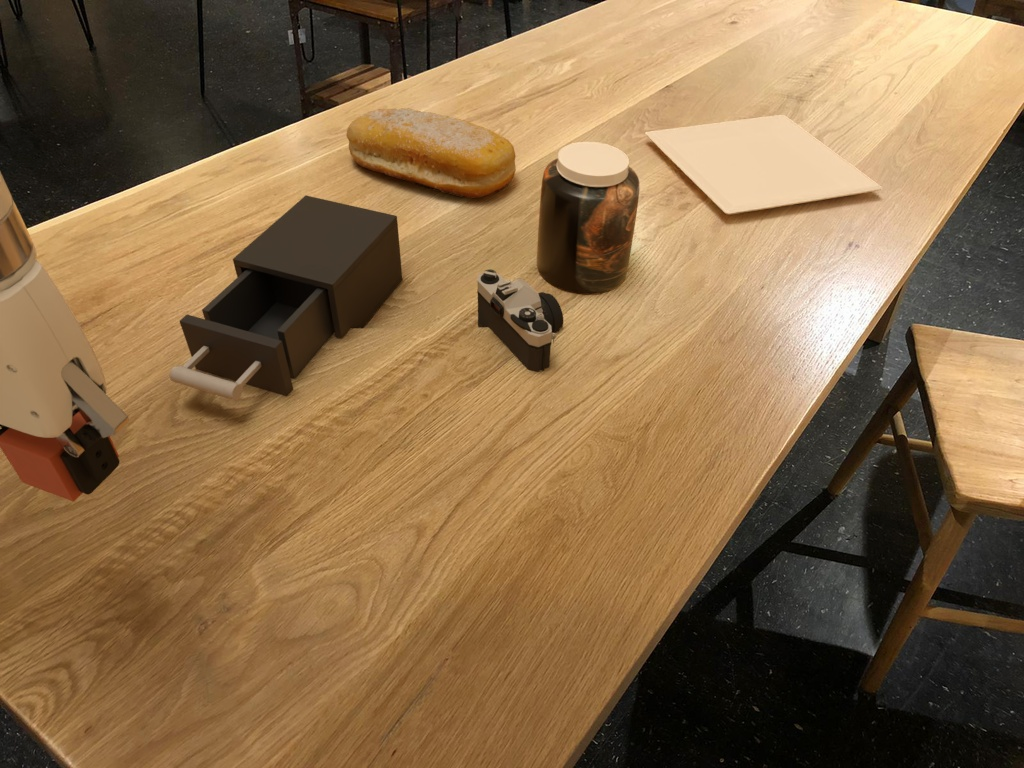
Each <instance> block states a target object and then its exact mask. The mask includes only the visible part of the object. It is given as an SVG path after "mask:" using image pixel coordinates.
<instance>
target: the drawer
mask: <svg viewBox="0 0 1024 768" xmlns="http://www.w3.org/2000/svg"><path fill="white" fill-rule="evenodd" d="M201 312H202V315H203V318H202V317H198V316H194V315H190V314H185V316H183V317H182V318H181V319H179V324H180V327H181V330H182V333H183V336H184V339H185V342H186V345H187V347H188V350H189V353H190V356H191V357H190V358H189V359H188V360H187V361H186V362H185V363H184V364H183V365H181V366H180V365H174V366H173V367H172V368H171V369H170V371H169V379H170V381H171V382H173V383H176V384H180V385H182V386H187V387H189V388H193V389H195V390H199V391H202V392H206V393H209V394H213V395H216V396H219V397H222V398H224V399H229V400H232V401H238V400H239V399H240V398H241V397H242V395H243V391H244V390H243V387H244V386H245V385H247V386H250V387H253V388H257V389H260V390H263V391H267V392H270V393H273V394H277V395H281V396H284V397H288V396H289V395H290V394H291V393H292V392H293V391H294V387H293V382H292V379H294V380H295V379H296V378H297V377H298V376H299V374H300V373H301V372H302V371H304V369H305V368H306V367H307V366H308V364H309V363H310V362H311V361H312V359H313V358H314V357H315V356H316V355H317V354H318V353H319V352H320V350H321V349H322V348H323V347H324V346H325V344H327V342H328V341H329V340H330V339H331V337H332V336H333V335H335V331H334V325H333V319H332V313H331V308H330V302H329V296H328V290H327V289H326V288H322V287H318V286H314V285H310V284H306V283H302V282H298V281H294V280H291V279H287V278H283V277H279V276H275V275H271V274H267V273H263V272H259V271H256V270H252V269H248V268H247V269H246V270H245V271H244V272H243V273H242V274H241V275H240V276H239V277H237V276H236V278H234V280H233V281H232V282H231V283H230V284H229V285H227V286H226V287H225V288H224V289H223V290H222V291H220V293H219V294H218V295H216V296H215V297H214V298H213V299H212V300H211V301H210V302H208V304H206V305H205V306H204V307H203V308H202V309H201ZM193 368H195V370H194V369H193ZM217 376H218V377H217ZM227 379H228V380H227Z"/></svg>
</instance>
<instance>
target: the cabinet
mask: <svg viewBox="0 0 1024 768" xmlns="http://www.w3.org/2000/svg"><path fill="white" fill-rule="evenodd" d="M398 223H399V222H398V215H394V214H391V213H387V212H386V213H385V212H382V211H376V210H372V209H368V208H364V207H359V206H355V205H350V204H346V203H342V202H337V201H333V200H329V199H324V198H319V197H315V196H311V195H304V196H303V197H302V198H300V200H298V202H296V203H295V204H293V205H292V207H290V208H289V209H288V210H287V211H286V212H285V213H283V214H282V215H281V216H280V217H279V218H278V219H277V220H275V222H272V224H271V225H270V226H269V227H267V228H266V229H265V230H264V231H262V233H261V234H259V235H258V236H257V237H256V238H255V239H253V241H251V242H250V243H249V244H248V245H247V246H246V247H244V248H243V249H242V250H241V251H240V252H239V253H238V254H237V255H235V256H234V257H232V262H233V265H234V270H235V274H236V278H237V277H239V276H240V275H241V274H242V273H243V272H244V271H245V270H246V269H247V268H248V269H252V270H256V271H259V272H263V273H267V274H271V275H275V276H279V277H283V278H287V279H291V280H294V281H298V282H302V283H306V284H310V285H314V286H318V287H322V288H326V289H327V290H328V296H329V302H330V308H331V313H332V319H333V325H334V331H335V333H334V337H335V339H340V340H343V338H344V337H346V335H347V334H348V333H349V332H350V331H351V330H352V329H364V328H365V327H366V325H368V323H369V322H370V320H371V319H372V318H373V317H374V316H375V315H376V314H377V312H378V311H379V309H381V307H382V306H383V305H384V303H386V301H387V300H388V299H389V297H390V296H391V295H392V294H393V293H394V292H395V290H396V289H397V288H398V287H399V285H400V284H401V283H402V282H403V269H402V258H401V248H400V247H401V246H400V245H401V244H400V234H399V224H398Z"/></svg>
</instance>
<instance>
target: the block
mask: <svg viewBox="0 0 1024 768" xmlns="http://www.w3.org/2000/svg"><path fill="white" fill-rule="evenodd" d="M85 424H86V421H85V420H84V418H83V417H82V415H81V414H80V413H79V412H78V413H77V414H76V415H74V416H73V417H72V424H71V427H69V428H70V429H71V431H72V432H73V433H74V434H75V433H76V432H77V431H78V430H79V429H80V428H81V427H82V426H84V425H85ZM108 438H109V440H110V442H111V444H112V446H113V448H114V450H115V452H116V454H117V456H118V458H120V454H119V452H118V450H117V449H116V447H115V444H114V442H113V441H112V438H111V436H109V437H108ZM0 449H1V451H2V452H3V454H4V456H5V457H6V459H7V460H8V462H9V463H10V465H11V467H12V468H13V470H14V471H15V474H16V475H17V476H18V478H19V479H20V481H21V482H22V483H23V484H24V485H25V484H26V485H28V486H31V487H34V488H36V489H38V490H42V491H43V492H47V493H49V494H52V495H54V496H58V497H60V498H63V499H65V500H67V501H71V502H73V503H74V502H75V501H76V500H77V499H78V498H79V497H80V496H81V495H82V494H83V493H82V492H80V491H79V489H78V487H77V486H76V484H75V482H74V480H73V478H72V477H71V475H70V473H69V471H68V469H67V468H66V466H65V464H64V462H63V461H62V459H61V457H60V455H61V454H62V453H63V452H64V451H65V450H64V449H63V448H62V446H61V445H60V444H59V442H58V441H57V440H56V438H44V437H37V436H34V435H30V434H27V433H24V432H21V431H18V430H15V429H12V428H9V429H8V430H6V431H5V432H4V433H3V434H2V435H1V436H0Z"/></svg>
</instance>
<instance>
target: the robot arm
mask: <svg viewBox="0 0 1024 768" xmlns="http://www.w3.org/2000/svg"><path fill="white" fill-rule="evenodd" d="M37 252H38V251H37V248H36V246H35V244H34V242H33V239H32V237H31V235H30V233H29V231H28V228H27V226H26V224H25V221H24V219H23V218H22V215H21V213H20V211H19V208H18V206H17V205H16V202H15V200H14V198H13V196H12V193H11V192H10V189H9V187H8V184H7V183H6V180H5V179H4V176H3V173H2V172H1V171H0V436H1V435H2V434H3V433H4V432H5V431H6V430H8V429H9V428H12V429H15V430H18V431H21V432H24V433H27V434H30V435H34V436H37V437H44V438H56V440H57V441H58V442H59V444H60V445H61V446H62V448H63V449H64V450H65V451H64V452H63V453H62V454H61V455H60V457H61V459H62V461H63V462H64V464H65V466H66V468H67V469H68V471H69V473H70V475H71V477H72V478H73V480H74V482H75V484H76V486H77V487H78V489H79V491H80V492H82V494H84V495H86V496H87V495H88V496H89V495H91V494H92V493H94V492H95V490H96V489H98V487H99V486H100V485H101V484H102V483H103V482H105V480H106V479H108V477H110V476H111V474H112V473H113V472H114V471H115V470H116V469H117V468H118V467H119V465H120V457H118V456H117V454H116V452H115V450H114V448H113V446H112V444H111V442H110V440H109V438H108V437H109V436H110V437H111V436H114V435H116V434H117V433H118V432H119V431H120V430H121V429H122V428H123V427H124V426H125V425H126V424H127V423H128V422H129V421H130V417H129V416H128V414H126V413H125V411H124V410H122V408H121V407H120V406H118V405H117V404H116V403H115V401H114V400H113V399H112V398H110V396H108V394H107V391H108V388H107V387H108V386H107V382H106V377H105V374H104V372H103V369H102V367H101V366H102V365H100V362H99V359H98V357H97V355H96V353H95V351H94V349H93V346H92V345H91V342H90V341H89V339H88V337H87V336H86V334H85V331H84V330H83V328H82V326H81V324H80V322H79V321H78V319H77V317H76V315H75V313H74V312H73V309H72V308H71V307H70V304H69V303H68V302H67V300H66V299H65V297H64V295H63V294H62V292H61V291H60V288H59V287H58V285H57V284H56V283H55V281H54V280H53V278H52V277H51V275H50V274H49V272H47V271H48V270H46V268H45V267H44V265H43V264H42V263H41V262H40V261H38V260H37V255H38V253H37ZM78 412H79V413H80V414H81V415H82V417H83V418H84V420H85V421H86V424H85V425H84V426H82V427H81V428H80V429H79V430H78V431H77V432H76V433H75V434H74V433H73V432H72V431H71V429H70V428H69V427H71V424H72V417H73V416H74V415H76V414H77V413H78Z"/></svg>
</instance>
